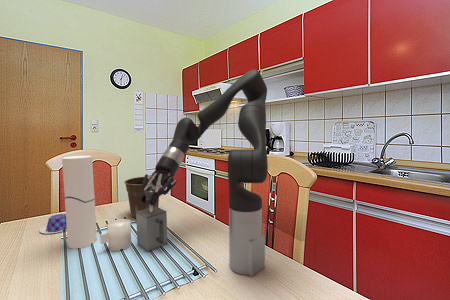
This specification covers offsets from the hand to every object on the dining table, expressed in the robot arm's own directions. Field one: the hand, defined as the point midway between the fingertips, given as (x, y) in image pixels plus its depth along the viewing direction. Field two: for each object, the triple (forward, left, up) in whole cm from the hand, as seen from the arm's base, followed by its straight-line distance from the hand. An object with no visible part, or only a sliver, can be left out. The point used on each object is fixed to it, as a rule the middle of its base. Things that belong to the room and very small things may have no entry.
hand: (146, 202), depth 75 cm
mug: (+8, +7, -15) cm, 18 cm away
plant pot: (+30, -14, -15) cm, 36 cm away
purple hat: (+41, +17, -16) cm, 47 cm away
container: (+20, +14, -15) cm, 28 cm away
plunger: (+1, -2, -12) cm, 13 cm away
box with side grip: (-1, -2, -15) cm, 15 cm away
